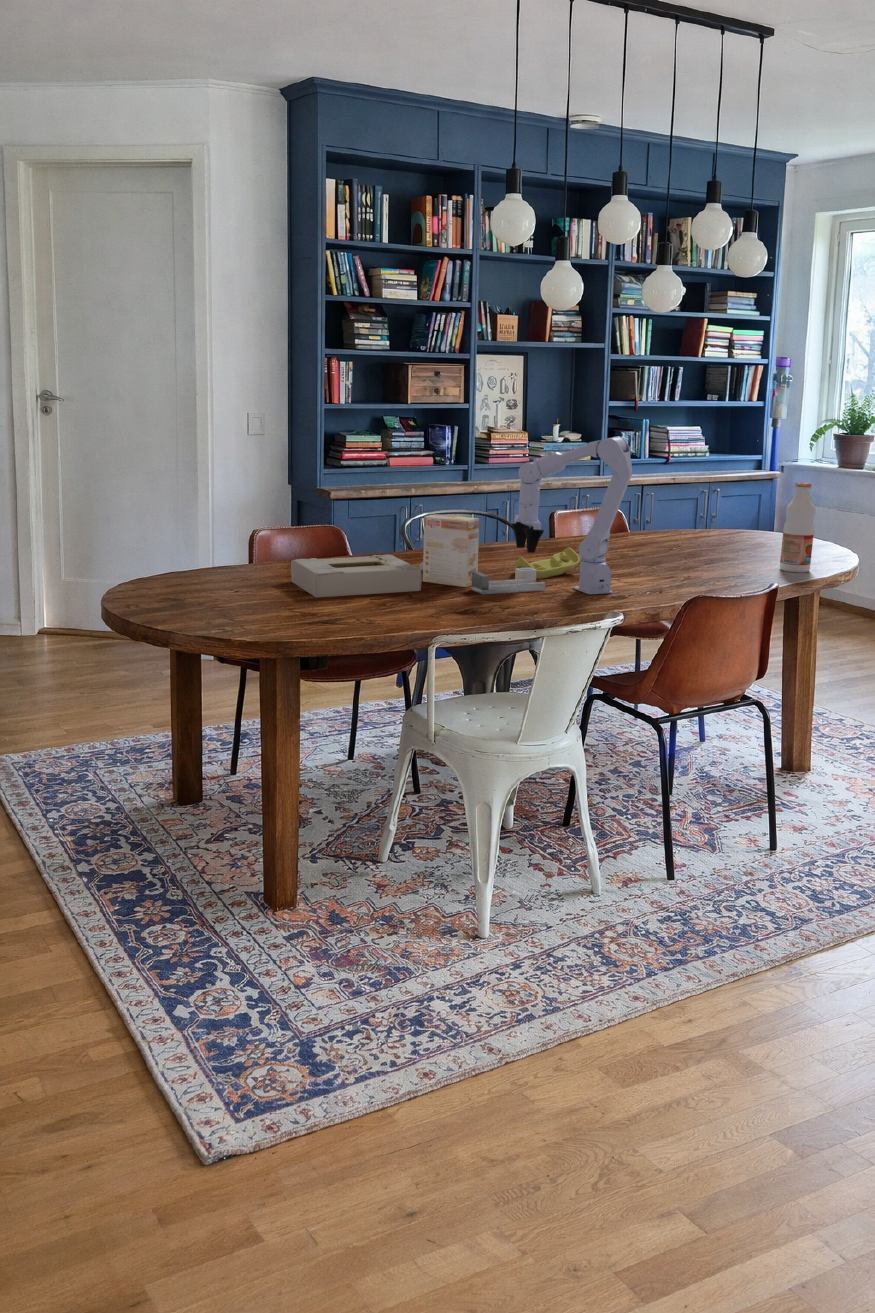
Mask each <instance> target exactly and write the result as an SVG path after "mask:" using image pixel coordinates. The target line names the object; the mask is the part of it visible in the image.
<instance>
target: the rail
mask: <svg viewBox="0 0 875 1313" xmlns="http://www.w3.org/2000/svg"><path fill="white" fill-rule="evenodd" d="M471 590H472V591H473V592H475V593H477V594H480V595H499V594H511V593H512V594H513V593H527V592H529V593H531V592H543V591H546V582H544V581H542V582H537V579H517V580H515V579H505V580H503V579H502V580H490V576H489V575H487V574H485V573H484V572H480V571H478V572H472V586H471Z"/></svg>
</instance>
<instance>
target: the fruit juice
mask: <svg viewBox="0 0 875 1313" xmlns="http://www.w3.org/2000/svg"><path fill="white" fill-rule="evenodd" d="M794 484H795V485H794V488H795V492H794V495H793V497H792V500H791V501H790V502H789V503H788V504H787V506H786V507H785V517H786V519H785V522H784V524H783V529H782V542H781V550H780V551H781V552H780V561H779V569H780V570H781V571H782V572H783V571H784V572H787V573H788V572H789V573H808V572H810V570H811V562H812V553H813V544H814V543H813V542H814V533H815V524H814V519H815V516H816V506H815V504H813V502H812V499H811V494H810V491H811V490H812V482H803V481H802V482H795V483H794Z"/></svg>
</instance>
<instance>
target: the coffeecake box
mask: <svg viewBox="0 0 875 1313" xmlns="http://www.w3.org/2000/svg"><path fill="white" fill-rule="evenodd" d="M479 537H480V518H479V517H478V518H477V517H468V516H457V515H448V514H437V513H435V514H429V515H425V516H423V552H422V553H423V558H422V560H423V561H422V562H423V570H422V582H423V583H432V584H438V585H447V586H453V587H462V588H469V587H472V572H479V570H478V569H479V566H478V565H479V540H480V538H479Z"/></svg>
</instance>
